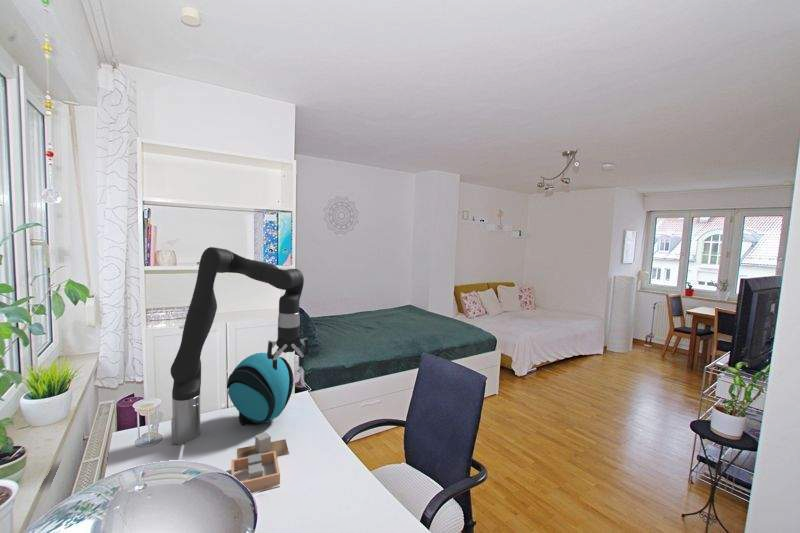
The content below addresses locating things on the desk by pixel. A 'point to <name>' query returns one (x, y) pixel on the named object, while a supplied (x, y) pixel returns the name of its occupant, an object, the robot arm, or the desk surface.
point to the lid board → (275, 446)
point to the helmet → (260, 388)
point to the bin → (260, 481)
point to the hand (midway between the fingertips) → (287, 367)
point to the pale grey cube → (262, 442)
